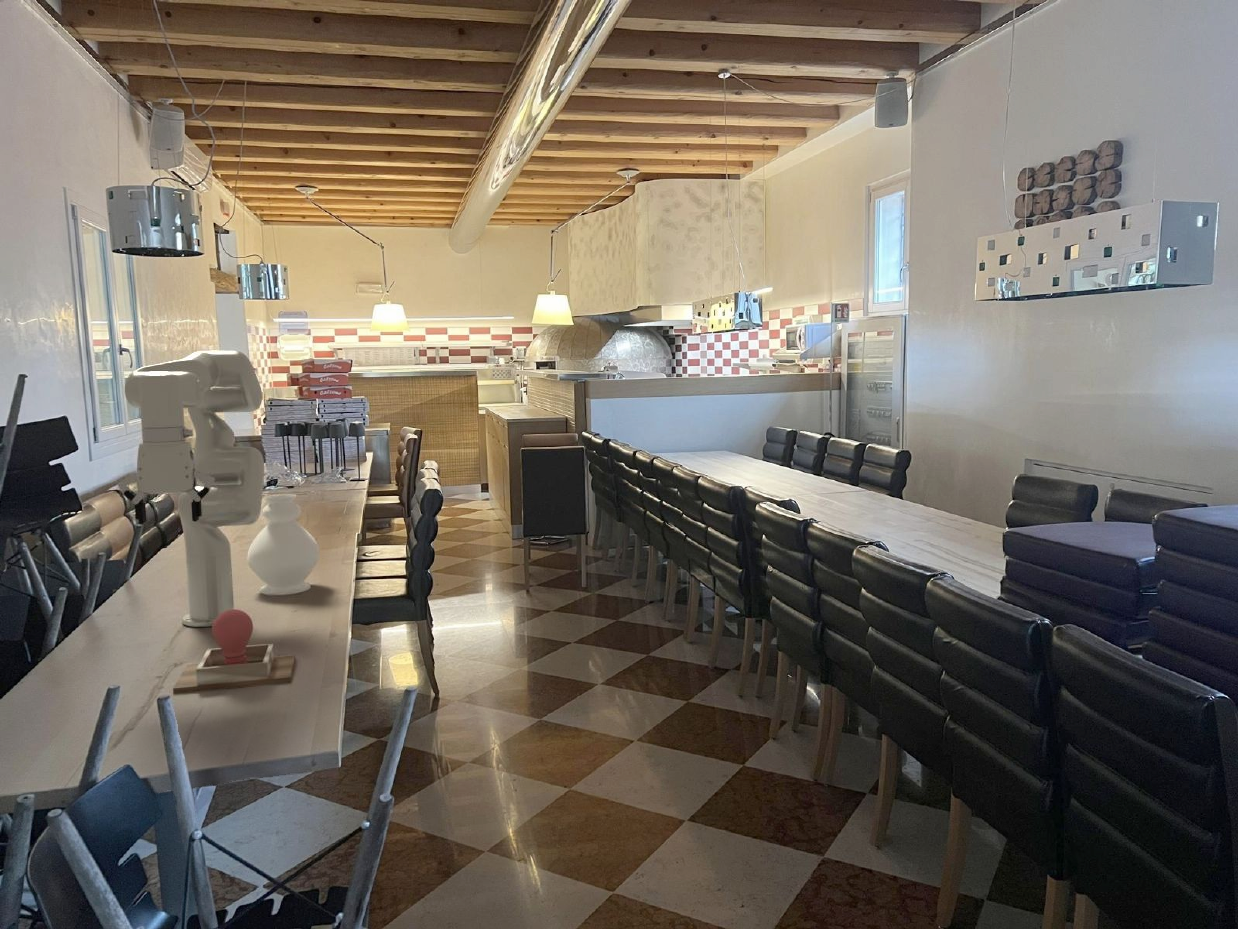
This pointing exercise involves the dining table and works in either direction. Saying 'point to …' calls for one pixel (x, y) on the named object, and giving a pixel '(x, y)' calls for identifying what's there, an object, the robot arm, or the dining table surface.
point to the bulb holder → (236, 670)
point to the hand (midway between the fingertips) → (169, 521)
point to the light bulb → (233, 635)
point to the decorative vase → (283, 549)
